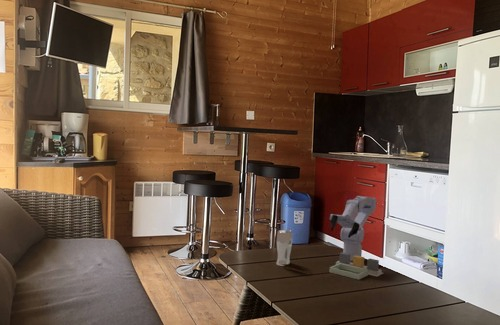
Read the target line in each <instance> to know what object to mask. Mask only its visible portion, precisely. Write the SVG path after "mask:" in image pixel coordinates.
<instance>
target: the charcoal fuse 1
mask: <svg viewBox="0 0 500 325" xmlns="http://www.w3.org/2000/svg"><path fill="white" fill-rule="evenodd" d="M338 261H339V262H340V263H344V264H350V263H351V261H350V254H347V253H343V251H342V252H339V259H338Z"/></svg>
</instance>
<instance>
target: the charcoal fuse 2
mask: <svg viewBox="0 0 500 325" xmlns="http://www.w3.org/2000/svg"><path fill="white" fill-rule="evenodd" d="M379 261H380V260H378V259H374V258H367V264H366V266H367V269H369V270H373V271H378V269H379V265H380V262H379Z"/></svg>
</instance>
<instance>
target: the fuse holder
mask: <svg viewBox="0 0 500 325" xmlns="http://www.w3.org/2000/svg"><path fill="white" fill-rule="evenodd" d="M339 263H340V262H339V260H337V261H335V265H337V264H339ZM341 264H344V263H341ZM345 265H349V266H353V262H350V264H345ZM353 267H357V266H353ZM357 268H361V267H357ZM362 269H366V270H369V269H367V265H364V267H362ZM383 274H384V272H382V269H379V268H378V271H373V270H369V272H368V276H369V275H370V276H373V277H380V276H381V275H383Z"/></svg>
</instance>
